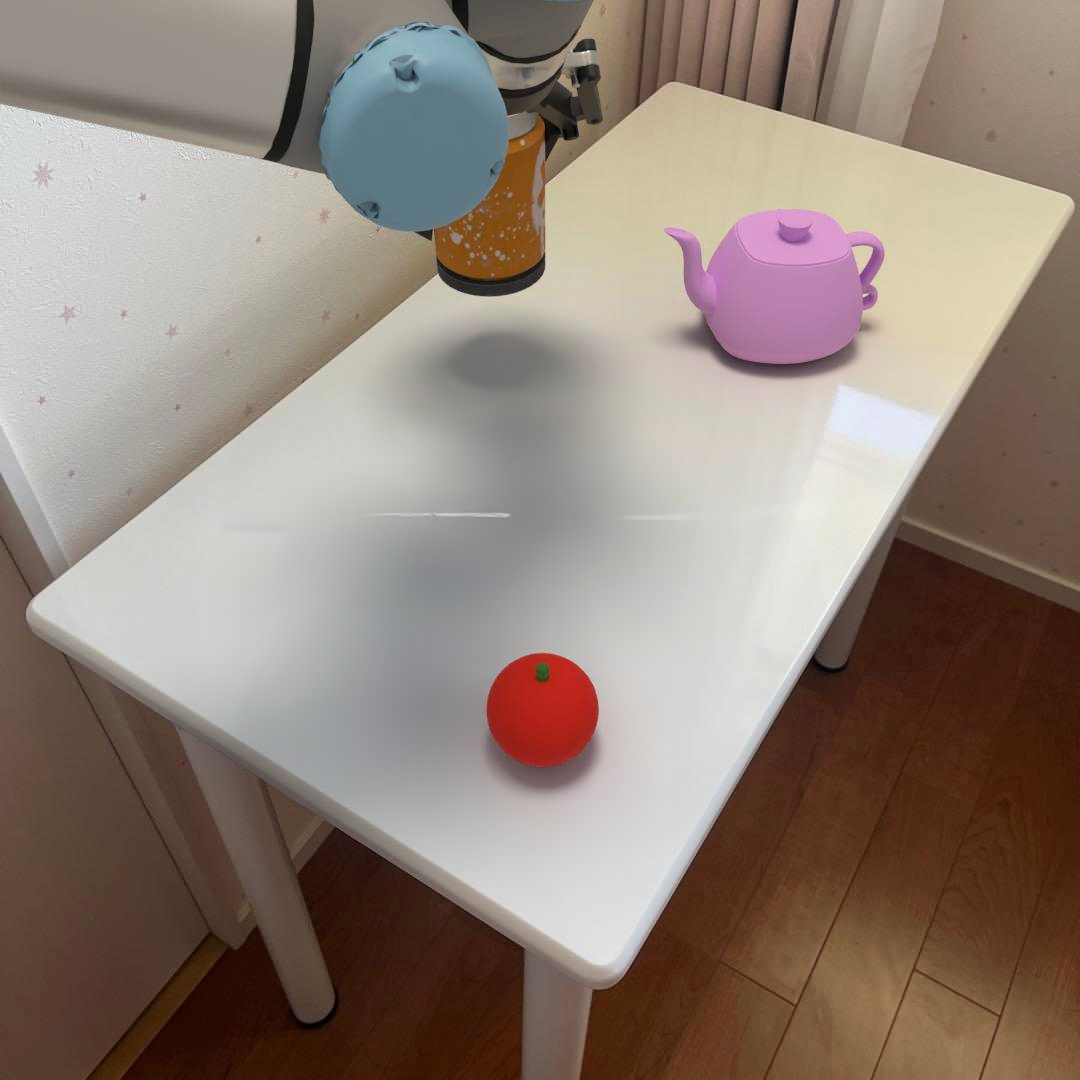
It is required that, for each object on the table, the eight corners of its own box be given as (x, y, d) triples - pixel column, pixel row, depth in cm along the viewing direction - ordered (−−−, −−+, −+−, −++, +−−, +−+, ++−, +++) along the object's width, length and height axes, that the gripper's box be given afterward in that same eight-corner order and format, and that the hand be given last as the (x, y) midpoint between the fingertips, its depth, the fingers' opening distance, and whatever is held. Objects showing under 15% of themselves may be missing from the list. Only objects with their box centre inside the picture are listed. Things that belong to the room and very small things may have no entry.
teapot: (847, 284, 106) (873, 170, 97) (892, 370, 97) (926, 253, 88) (642, 298, 105) (650, 184, 96) (668, 387, 96) (680, 270, 87)
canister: (546, 303, 89) (545, 53, 74) (408, 304, 89) (381, 54, 74) (544, 243, 95) (544, 1, 81) (416, 244, 95) (392, 2, 81)
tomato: (485, 786, 69) (479, 713, 63) (491, 694, 74) (487, 618, 68) (597, 789, 69) (602, 716, 63) (596, 696, 74) (600, 620, 68)
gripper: (324, 114, 64) (331, 217, 85) (702, 75, 67) (616, 183, 89) (302, -17, 63) (314, 120, 85) (683, -49, 67) (602, 90, 89)
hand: (469, 153), depth 87 cm, fingers closed on canister, 10 cm apart
